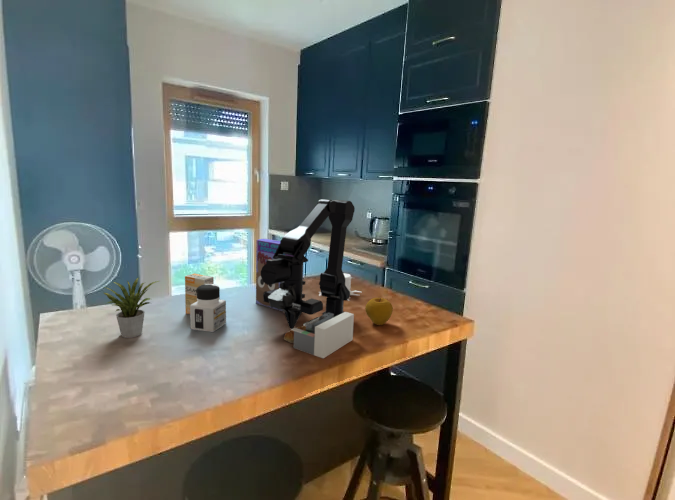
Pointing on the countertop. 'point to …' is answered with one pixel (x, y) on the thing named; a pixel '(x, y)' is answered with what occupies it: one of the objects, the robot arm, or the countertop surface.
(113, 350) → the countertop surface
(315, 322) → the gauge pad
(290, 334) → the pastry
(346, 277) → the white wide pronged piece
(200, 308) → the container
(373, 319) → the apple
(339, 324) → the white grey open box
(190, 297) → the supplement box
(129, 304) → the house plant
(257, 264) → the cereal box
